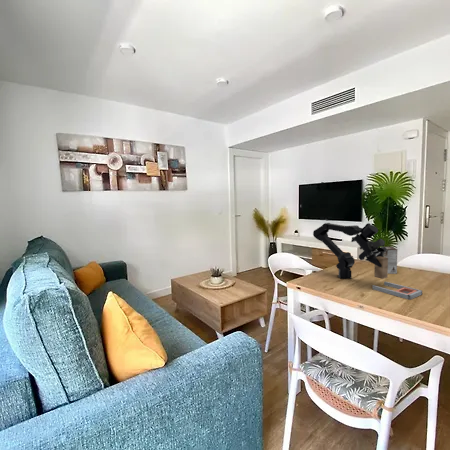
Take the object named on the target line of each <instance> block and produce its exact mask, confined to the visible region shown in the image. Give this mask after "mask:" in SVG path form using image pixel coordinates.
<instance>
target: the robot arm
mask: <svg viewBox="0 0 450 450" xmlns="http://www.w3.org/2000/svg"><path fill="white" fill-rule="evenodd" d="M330 231H335V232H341V233H343V234H344V235H347V236H349V237H350V236H352V237H351V241H350V242H351V243H353V242H355V243H357V245H359V249H360V250H362V252H361V253H360V254H358V259H359V260H360V261H364V260H365V261H367V262H369V263H371V264H373V265H374V266H375V265H377V266H379V267H382V265H381V264H380V262H379V261H378V259H377V258H376V257H378V256H381V257H384V256H383V254H384V252H385V251H386V250H387V249H386V248H385V247H386V246H385V243H386V241H385V240H384V239H382V238H379V239H377V240H376V241H372V240H371V241H370V240H369V239H371V238H372V237H373V236H375V234H377V233H378V232H379V229H378V228H377V226H374V225H373V224H372V223H366V224H365V225H364V226H363V227H360V226H359V225H355V224H354V225H343V224H337V223H336V224H335V223H330V222H325V223H323V224H322V225H321V226H319V227H317V228H316V229H314V230H313V232H312V235H313V236H312V237H314V238H315V239H316V240H318V241H320V242H322V243H323V244H324V245H325V246H326V247H327V248H328V249H329V250H330V251H331V253H333V254H334V255H335V256H336V257H337V261H338V263H337V264H336V265H335V267H336V268H337V269H338V275H337V277H338V278H339V279H340V280H352V279H353V278H352V270H351V268H353V266H354V265H355V262H356V260H355V258H354V256H353V255H352V254H351V253H350V252H344V251H343V250H342V249H341V248H340V247H339V246H338V245H337V244H336V243H335V242H334V240H332V239H331V238H330V237H329V234H328V232H330ZM365 258H366V259H365Z"/></svg>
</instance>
